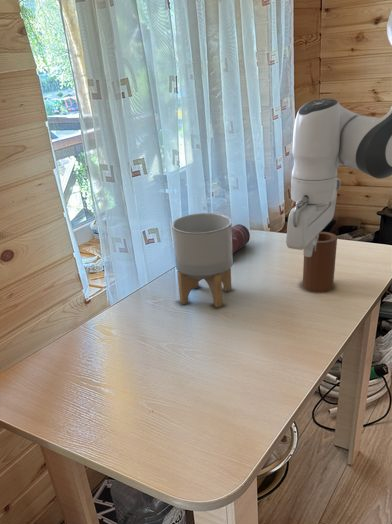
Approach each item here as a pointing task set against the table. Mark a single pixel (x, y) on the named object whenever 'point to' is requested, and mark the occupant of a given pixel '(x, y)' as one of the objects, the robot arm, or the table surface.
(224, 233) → the planter
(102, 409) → the table surface
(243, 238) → the can
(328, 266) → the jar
